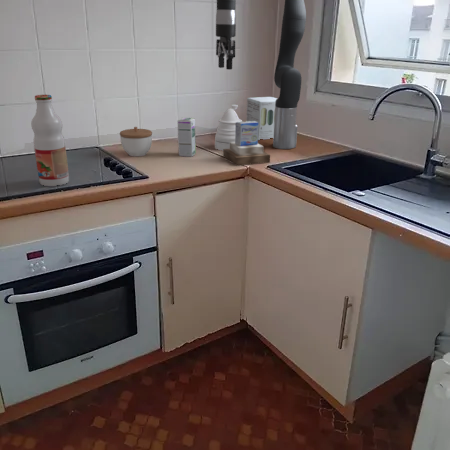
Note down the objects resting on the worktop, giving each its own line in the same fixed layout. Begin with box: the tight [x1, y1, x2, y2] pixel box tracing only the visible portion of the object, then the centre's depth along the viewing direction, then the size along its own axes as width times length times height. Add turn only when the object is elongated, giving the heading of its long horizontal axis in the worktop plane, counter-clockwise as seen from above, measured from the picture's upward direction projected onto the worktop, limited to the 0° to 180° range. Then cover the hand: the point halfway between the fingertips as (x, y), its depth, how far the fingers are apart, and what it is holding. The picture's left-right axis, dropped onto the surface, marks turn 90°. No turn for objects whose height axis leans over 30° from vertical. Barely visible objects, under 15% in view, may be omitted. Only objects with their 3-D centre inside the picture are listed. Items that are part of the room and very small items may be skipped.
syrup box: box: [177, 117, 197, 158], centre depth 186 cm, size 6×6×14 cm
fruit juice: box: [31, 94, 70, 187], centre depth 148 cm, size 9×9×28 cm
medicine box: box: [235, 120, 259, 146], centre depth 180 cm, size 8×4×9 cm, turn 115°
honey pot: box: [214, 104, 243, 152], centre depth 198 cm, size 13×13×18 cm
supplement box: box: [245, 96, 279, 141], centre depth 220 cm, size 13×13×18 cm
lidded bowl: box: [119, 126, 153, 157], centre depth 187 cm, size 13×13×11 cm
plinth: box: [222, 142, 271, 166], centre depth 183 cm, size 14×14×6 cm
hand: (225, 68), depth 181 cm, fingers open, 8 cm apart
